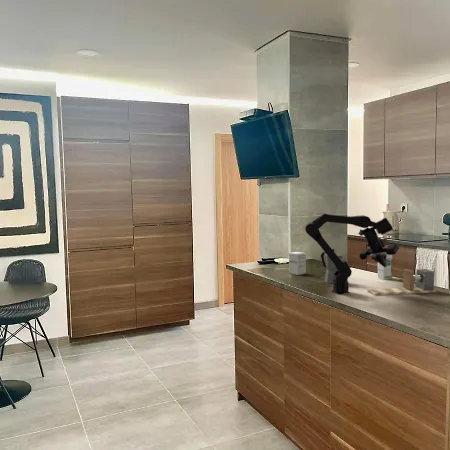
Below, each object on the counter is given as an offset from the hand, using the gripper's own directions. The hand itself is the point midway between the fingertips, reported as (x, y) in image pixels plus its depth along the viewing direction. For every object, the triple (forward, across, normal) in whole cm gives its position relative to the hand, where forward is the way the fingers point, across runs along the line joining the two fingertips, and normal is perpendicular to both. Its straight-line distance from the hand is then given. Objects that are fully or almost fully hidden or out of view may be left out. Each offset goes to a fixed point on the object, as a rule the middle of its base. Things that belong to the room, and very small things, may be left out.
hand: (385, 266), depth 218 cm
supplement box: (+1, +62, -9) cm, 62 cm away
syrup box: (+19, +17, -22) cm, 34 cm away
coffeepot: (+5, +34, 0) cm, 35 cm away
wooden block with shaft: (+16, -9, -4) cm, 19 cm away
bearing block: (+18, -10, -6) cm, 22 cm away
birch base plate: (+13, -3, +2) cm, 14 cm away
